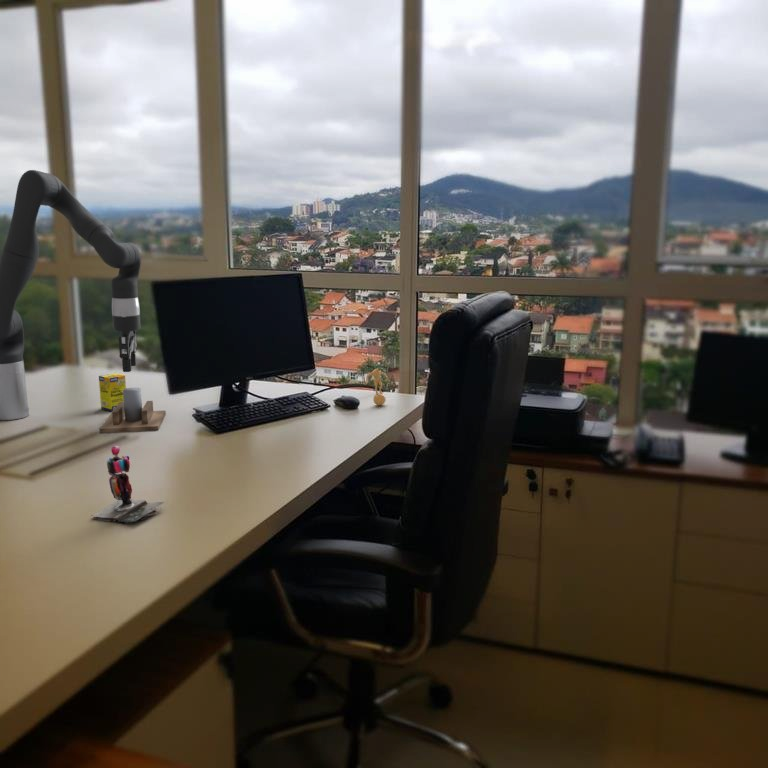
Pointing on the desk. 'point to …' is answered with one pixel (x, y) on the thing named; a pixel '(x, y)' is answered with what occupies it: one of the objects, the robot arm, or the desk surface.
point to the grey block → (132, 404)
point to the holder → (119, 424)
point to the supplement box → (111, 390)
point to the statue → (123, 494)
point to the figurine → (379, 397)
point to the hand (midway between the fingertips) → (129, 368)
